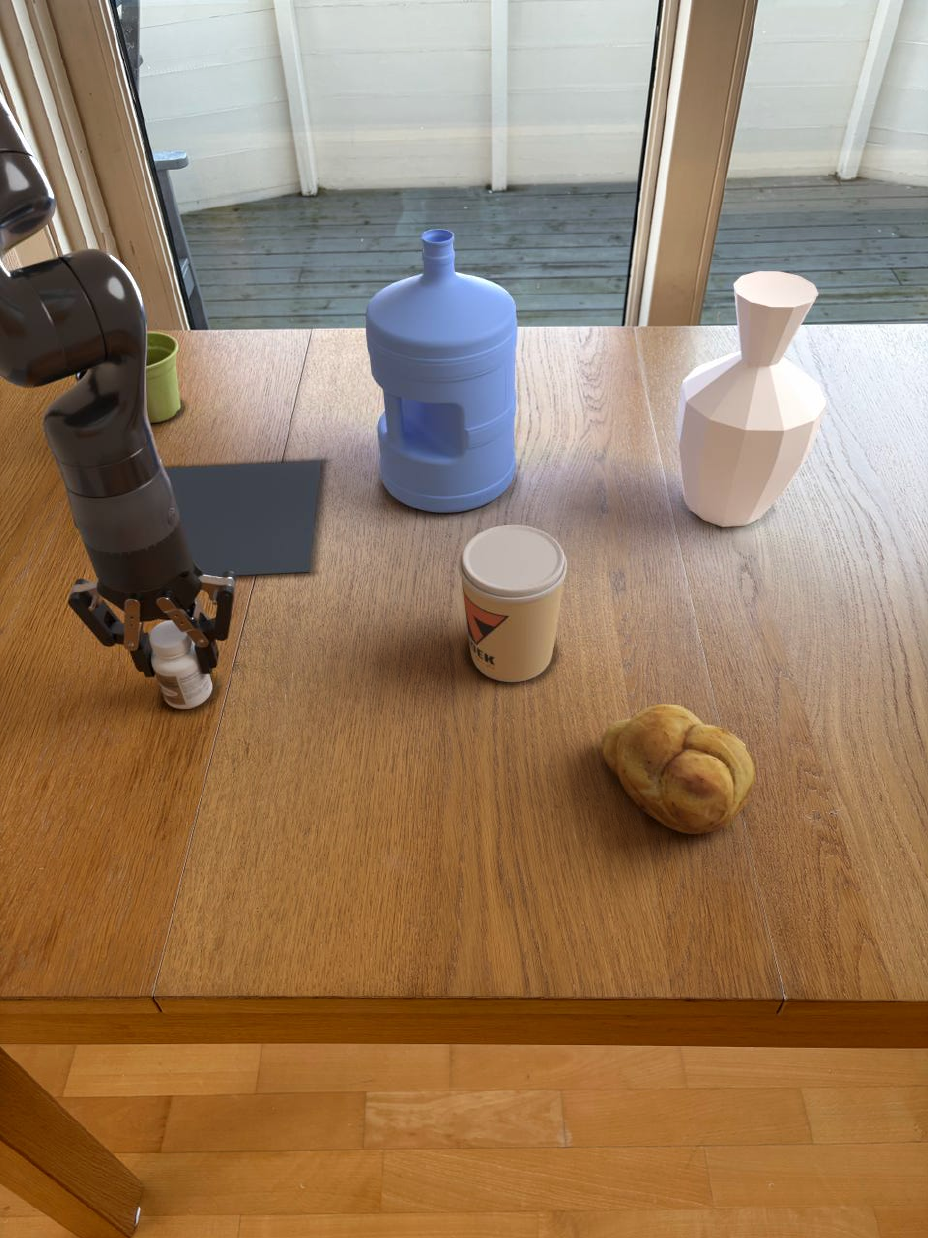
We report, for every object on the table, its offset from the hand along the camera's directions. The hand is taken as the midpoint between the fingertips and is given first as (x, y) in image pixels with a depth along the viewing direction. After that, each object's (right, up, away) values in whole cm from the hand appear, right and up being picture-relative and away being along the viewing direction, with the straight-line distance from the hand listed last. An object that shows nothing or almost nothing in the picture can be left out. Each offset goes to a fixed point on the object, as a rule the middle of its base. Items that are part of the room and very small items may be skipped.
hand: (180, 668), depth 85 cm
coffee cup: (+30, +1, +5) cm, 30 cm away
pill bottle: (0, -2, +2) cm, 4 cm away
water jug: (+24, +21, +26) cm, 41 cm away
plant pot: (-14, +31, +37) cm, 51 cm away
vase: (+55, +17, +21) cm, 61 cm away
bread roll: (+43, -9, -6) cm, 44 cm away
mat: (-1, +16, +21) cm, 26 cm away
